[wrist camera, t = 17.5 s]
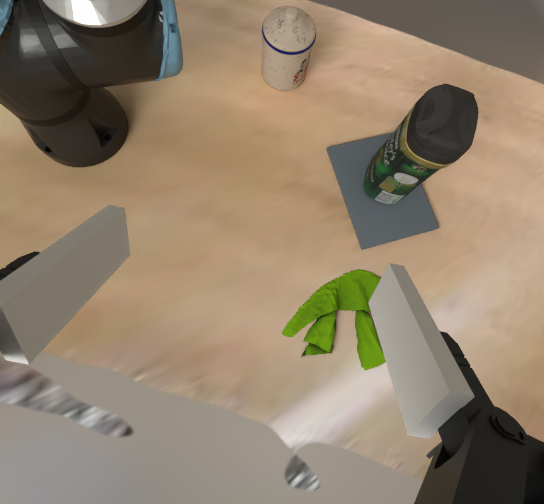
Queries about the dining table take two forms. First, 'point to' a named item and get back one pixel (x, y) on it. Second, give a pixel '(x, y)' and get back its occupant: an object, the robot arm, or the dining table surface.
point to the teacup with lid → (286, 47)
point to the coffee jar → (423, 143)
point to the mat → (368, 212)
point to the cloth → (322, 306)
